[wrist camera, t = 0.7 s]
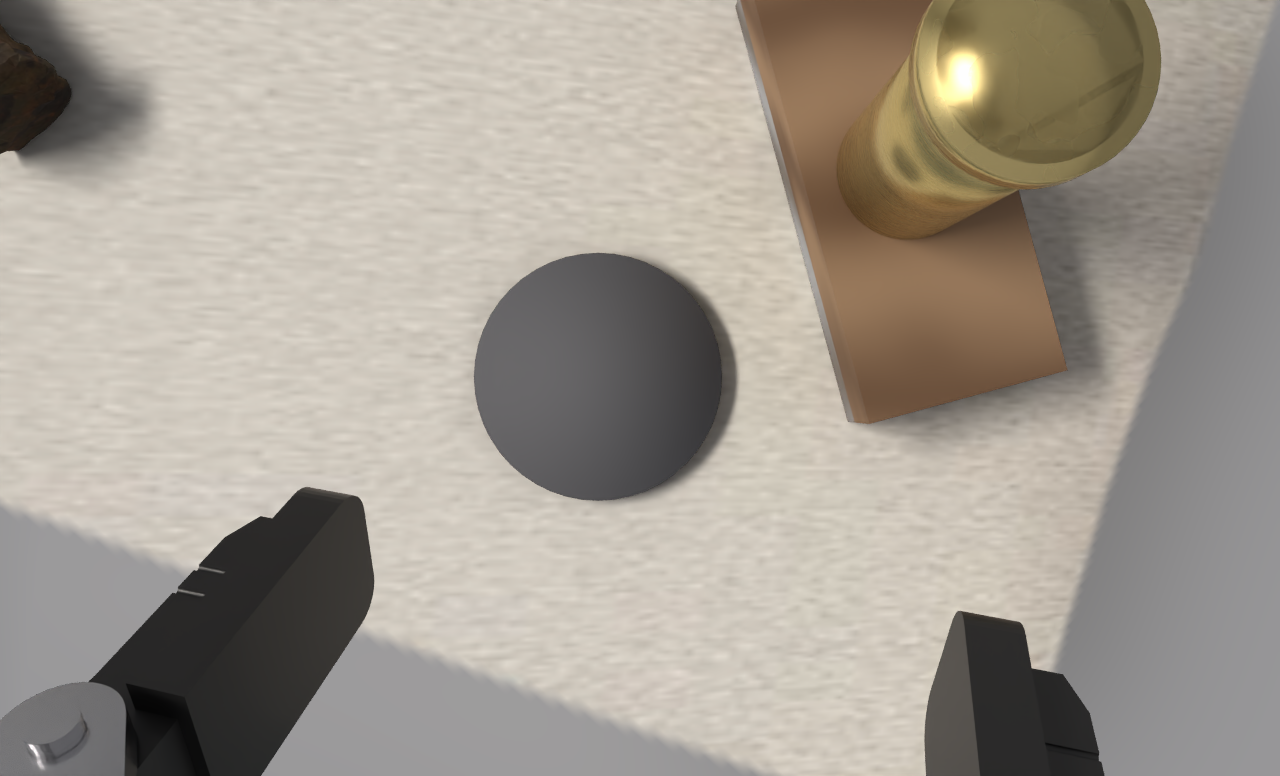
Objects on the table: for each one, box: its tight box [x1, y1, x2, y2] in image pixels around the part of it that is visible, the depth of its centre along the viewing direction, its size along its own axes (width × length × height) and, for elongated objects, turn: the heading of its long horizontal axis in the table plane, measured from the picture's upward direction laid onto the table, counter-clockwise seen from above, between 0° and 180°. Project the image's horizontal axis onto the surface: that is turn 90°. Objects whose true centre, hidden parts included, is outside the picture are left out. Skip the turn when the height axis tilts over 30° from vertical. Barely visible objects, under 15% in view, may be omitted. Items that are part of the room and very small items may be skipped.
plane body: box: [736, 0, 1067, 424], centre depth 32 cm, size 16×7×3 cm, turn 15°
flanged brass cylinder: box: [836, 0, 1161, 240], centre depth 26 cm, size 6×6×10 cm
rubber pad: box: [474, 253, 722, 501], centre depth 33 cm, size 9×9×1 cm
